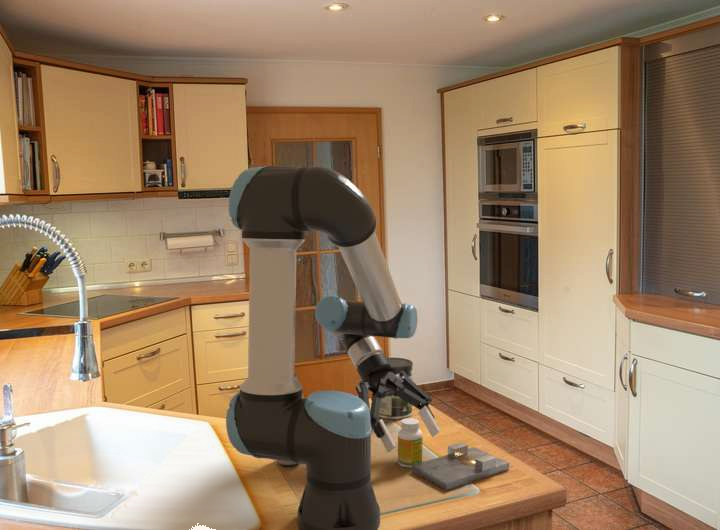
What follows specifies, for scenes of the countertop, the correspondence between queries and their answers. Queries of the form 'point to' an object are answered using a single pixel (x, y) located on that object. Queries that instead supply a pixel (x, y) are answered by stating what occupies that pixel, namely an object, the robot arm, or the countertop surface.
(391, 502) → the countertop surface
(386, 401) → the coffee can
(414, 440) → the supplement bottle
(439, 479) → the hinge plate
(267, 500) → the countertop surface
